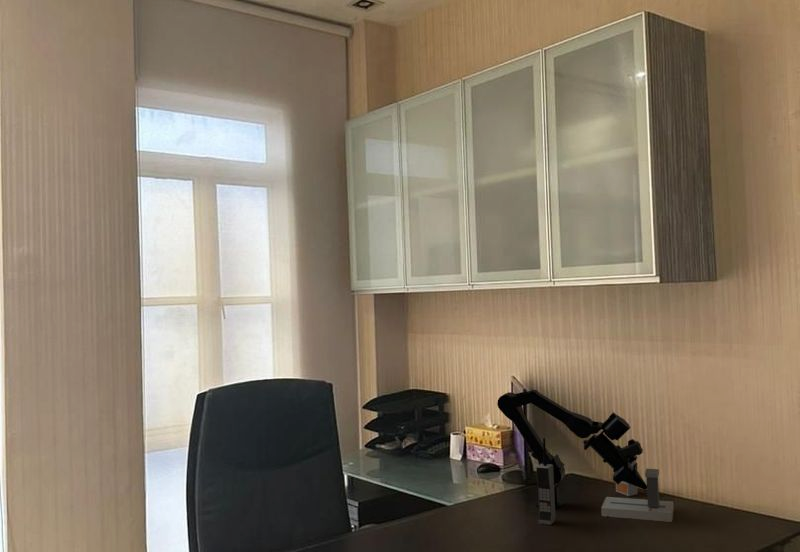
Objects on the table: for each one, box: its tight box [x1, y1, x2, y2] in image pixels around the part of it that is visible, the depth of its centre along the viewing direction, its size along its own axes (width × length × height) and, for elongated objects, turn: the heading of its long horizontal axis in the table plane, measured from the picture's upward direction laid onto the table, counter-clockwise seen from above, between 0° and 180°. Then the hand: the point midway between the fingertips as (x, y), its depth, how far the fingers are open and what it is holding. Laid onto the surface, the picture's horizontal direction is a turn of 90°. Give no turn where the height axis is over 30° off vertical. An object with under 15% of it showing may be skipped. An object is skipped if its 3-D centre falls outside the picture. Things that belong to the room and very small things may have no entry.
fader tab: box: [644, 468, 660, 508], centre depth 215 cm, size 4×6×10 cm, turn 157°
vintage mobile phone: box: [535, 437, 556, 526], centre depth 212 cm, size 4×5×25 cm
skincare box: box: [615, 460, 638, 497], centre depth 237 cm, size 6×4×12 cm
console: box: [600, 496, 675, 523], centre depth 216 cm, size 20×12×3 cm, turn 67°
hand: (646, 488), depth 215 cm, fingers closed, pressing on fader tab
